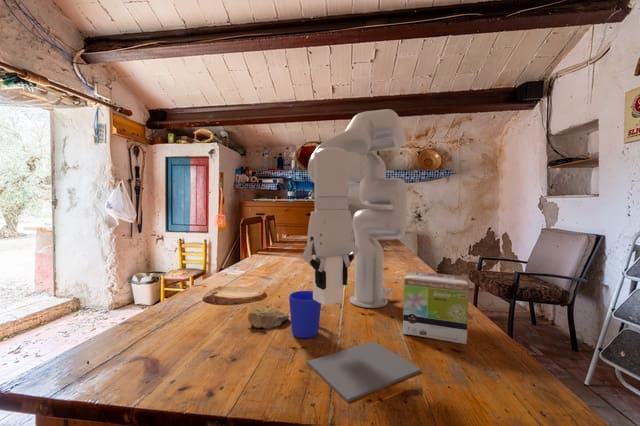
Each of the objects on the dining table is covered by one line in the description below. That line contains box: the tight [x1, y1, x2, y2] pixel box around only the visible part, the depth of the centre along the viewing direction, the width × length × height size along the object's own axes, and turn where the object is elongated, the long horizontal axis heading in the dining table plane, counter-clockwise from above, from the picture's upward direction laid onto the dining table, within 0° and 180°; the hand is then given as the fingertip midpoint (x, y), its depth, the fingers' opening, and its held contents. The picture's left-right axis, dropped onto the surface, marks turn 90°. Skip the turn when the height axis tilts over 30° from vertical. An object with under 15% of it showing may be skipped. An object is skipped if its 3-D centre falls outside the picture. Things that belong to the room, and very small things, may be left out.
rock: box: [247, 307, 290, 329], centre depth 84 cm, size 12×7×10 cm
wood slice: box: [202, 285, 268, 305], centre depth 105 cm, size 18×18×4 cm
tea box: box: [402, 270, 470, 345], centre depth 77 cm, size 15×10×15 cm, turn 70°
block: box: [312, 255, 344, 307], centre depth 68 cm, size 5×5×12 cm
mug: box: [288, 290, 322, 339], centre depth 77 cm, size 8×12×10 cm
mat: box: [306, 340, 422, 403], centre depth 60 cm, size 18×14×1 cm
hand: (331, 284), depth 67 cm, fingers closed on block, 5 cm apart
